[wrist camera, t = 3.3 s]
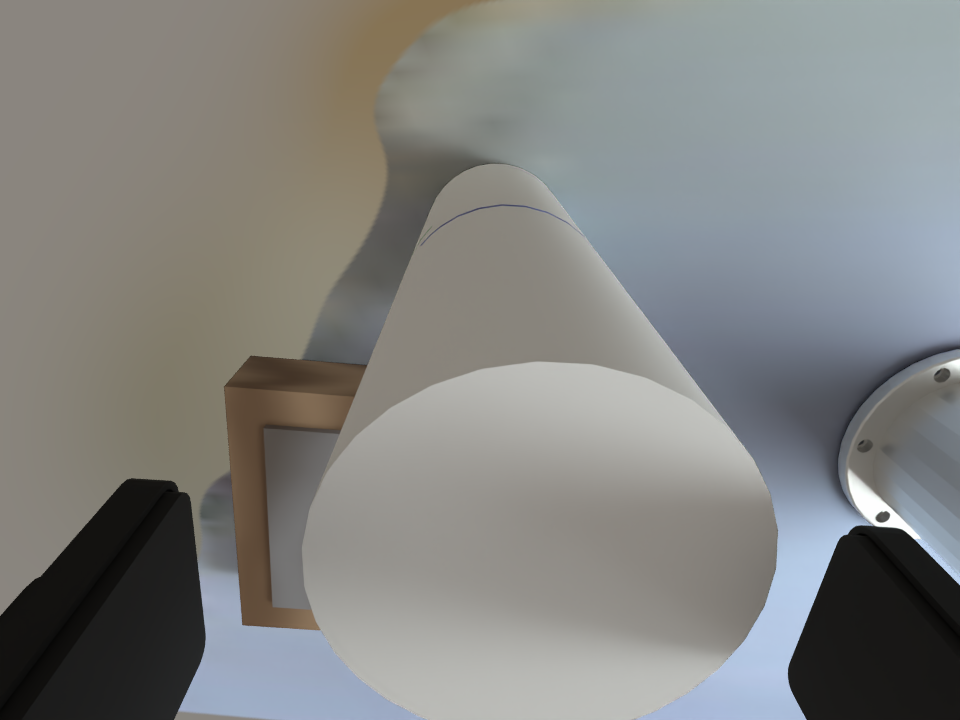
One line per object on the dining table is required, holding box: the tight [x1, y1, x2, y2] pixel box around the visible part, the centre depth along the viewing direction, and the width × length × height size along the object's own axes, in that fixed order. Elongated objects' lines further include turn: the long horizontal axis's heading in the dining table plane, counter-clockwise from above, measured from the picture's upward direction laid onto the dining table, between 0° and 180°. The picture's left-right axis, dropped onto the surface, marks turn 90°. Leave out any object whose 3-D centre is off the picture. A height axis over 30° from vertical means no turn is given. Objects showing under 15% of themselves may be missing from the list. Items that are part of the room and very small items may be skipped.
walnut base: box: [224, 356, 367, 630], centre depth 36 cm, size 16×16×4 cm
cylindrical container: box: [302, 164, 778, 720], centre depth 21 cm, size 7×7×25 cm
